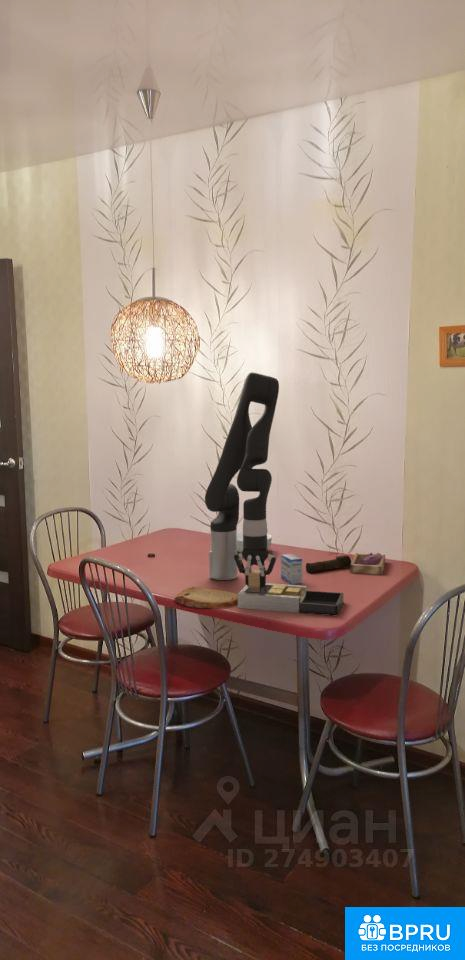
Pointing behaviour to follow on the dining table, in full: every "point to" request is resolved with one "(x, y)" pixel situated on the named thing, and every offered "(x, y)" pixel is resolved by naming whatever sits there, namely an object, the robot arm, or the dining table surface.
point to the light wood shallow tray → (366, 568)
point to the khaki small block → (280, 587)
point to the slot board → (292, 601)
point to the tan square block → (293, 592)
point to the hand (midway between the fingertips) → (255, 586)
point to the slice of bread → (206, 598)
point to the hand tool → (329, 564)
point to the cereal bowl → (240, 541)
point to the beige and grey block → (255, 582)
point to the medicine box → (291, 568)
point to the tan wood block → (276, 591)
